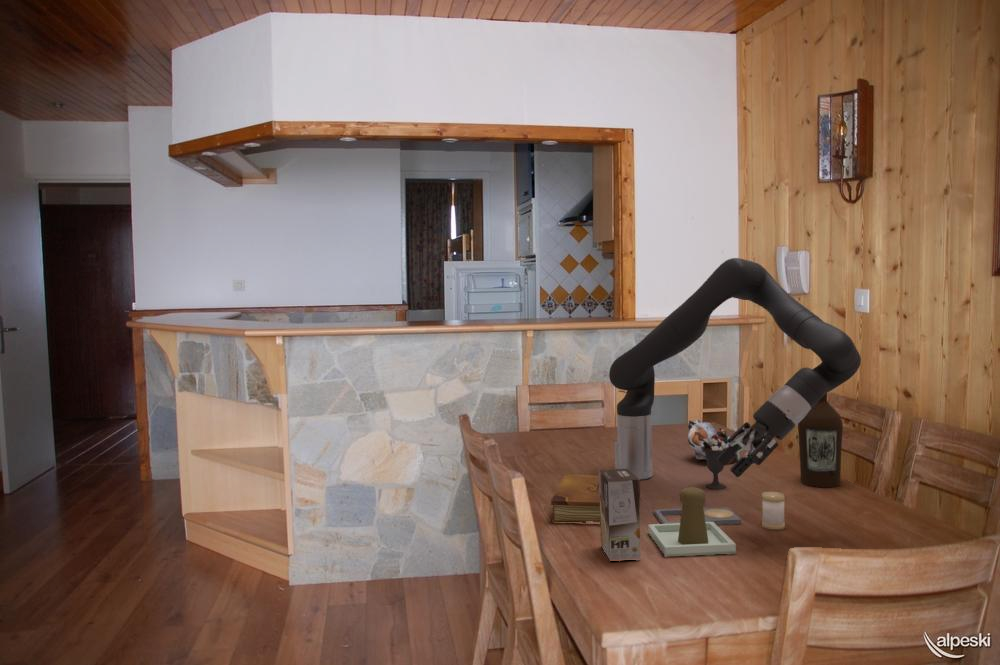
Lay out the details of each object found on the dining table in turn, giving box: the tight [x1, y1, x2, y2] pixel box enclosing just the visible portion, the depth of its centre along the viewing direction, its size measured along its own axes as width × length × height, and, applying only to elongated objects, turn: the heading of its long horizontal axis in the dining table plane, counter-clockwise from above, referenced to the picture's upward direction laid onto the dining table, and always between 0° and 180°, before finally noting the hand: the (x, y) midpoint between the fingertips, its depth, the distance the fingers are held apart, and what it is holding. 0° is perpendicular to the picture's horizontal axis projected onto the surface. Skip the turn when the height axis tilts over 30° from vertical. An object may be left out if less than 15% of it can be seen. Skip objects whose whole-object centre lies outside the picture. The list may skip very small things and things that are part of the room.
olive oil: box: [797, 392, 844, 488], centre depth 198 cm, size 11×11×25 cm
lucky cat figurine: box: [687, 419, 741, 465], centre depth 226 cm, size 15×12×14 cm
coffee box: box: [598, 468, 641, 560], centre depth 153 cm, size 9×6×16 cm
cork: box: [678, 486, 708, 545], centre depth 157 cm, size 6×6×11 cm
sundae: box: [702, 427, 727, 490], centre depth 199 cm, size 7×7×15 cm
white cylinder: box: [761, 491, 786, 531], centre depth 167 cm, size 5×5×7 cm
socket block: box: [653, 506, 742, 526], centre depth 173 cm, size 17×10×1 cm, turn 92°
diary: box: [550, 474, 641, 523], centre depth 183 cm, size 23×19×6 cm
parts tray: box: [647, 522, 737, 557], centre depth 158 cm, size 14×14×2 cm
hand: (726, 468), depth 160 cm, fingers open, 8 cm apart
